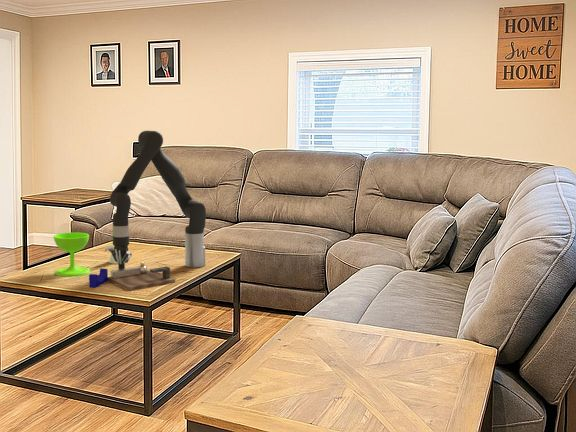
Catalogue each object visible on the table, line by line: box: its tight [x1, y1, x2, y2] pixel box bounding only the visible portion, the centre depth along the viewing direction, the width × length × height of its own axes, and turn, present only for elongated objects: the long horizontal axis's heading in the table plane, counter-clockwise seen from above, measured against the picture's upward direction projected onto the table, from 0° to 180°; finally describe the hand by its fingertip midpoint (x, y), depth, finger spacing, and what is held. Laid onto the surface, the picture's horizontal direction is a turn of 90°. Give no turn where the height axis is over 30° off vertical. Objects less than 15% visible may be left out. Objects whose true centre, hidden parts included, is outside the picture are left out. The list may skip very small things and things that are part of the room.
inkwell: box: [104, 245, 118, 265], centre depth 318 cm, size 9×18×10 cm, turn 170°
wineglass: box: [53, 232, 91, 278], centre depth 299 cm, size 16×16×18 cm
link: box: [109, 261, 148, 278], centre depth 291 cm, size 18×4×5 cm, turn 132°
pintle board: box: [107, 266, 176, 291], centre depth 286 cm, size 23×21×6 cm
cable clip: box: [88, 267, 109, 289], centre depth 280 cm, size 12×4×6 cm, turn 171°
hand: (121, 271), depth 292 cm, fingers closed
